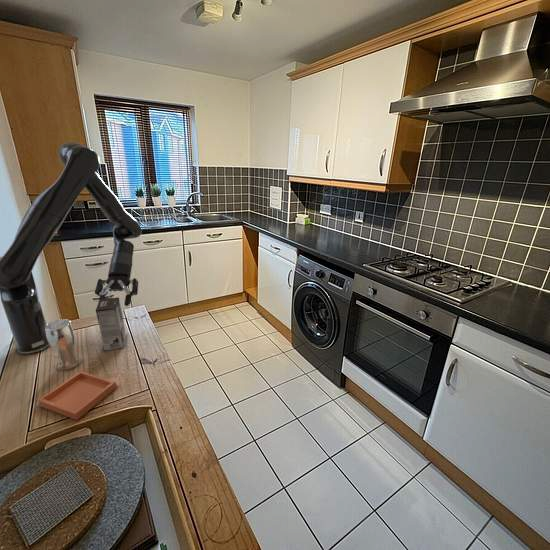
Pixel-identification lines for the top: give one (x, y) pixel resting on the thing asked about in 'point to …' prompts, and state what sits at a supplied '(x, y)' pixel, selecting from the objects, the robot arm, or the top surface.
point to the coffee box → (111, 323)
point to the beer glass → (62, 343)
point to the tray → (77, 395)
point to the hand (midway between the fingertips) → (114, 305)
